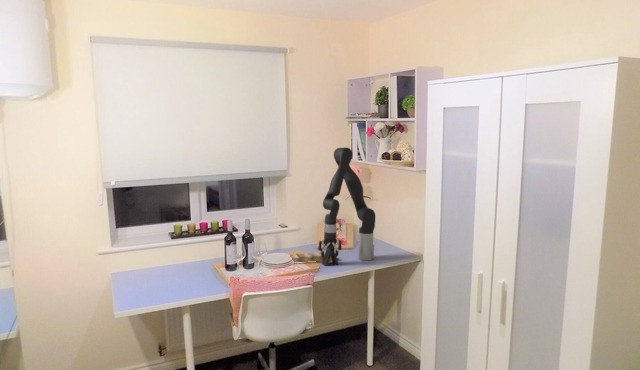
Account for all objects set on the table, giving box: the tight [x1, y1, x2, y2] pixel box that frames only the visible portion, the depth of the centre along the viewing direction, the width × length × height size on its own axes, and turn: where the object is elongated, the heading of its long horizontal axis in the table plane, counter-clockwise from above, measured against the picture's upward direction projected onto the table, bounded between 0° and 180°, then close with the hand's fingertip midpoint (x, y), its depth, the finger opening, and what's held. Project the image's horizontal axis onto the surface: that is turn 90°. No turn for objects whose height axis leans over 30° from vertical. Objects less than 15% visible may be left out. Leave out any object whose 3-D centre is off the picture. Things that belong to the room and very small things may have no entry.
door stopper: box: [321, 246, 340, 267], centre depth 275 cm, size 9×6×12 cm, turn 111°
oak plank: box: [289, 251, 332, 263], centre depth 282 cm, size 28×8×4 cm, turn 106°
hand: (329, 256), depth 275 cm, fingers open, 8 cm apart
